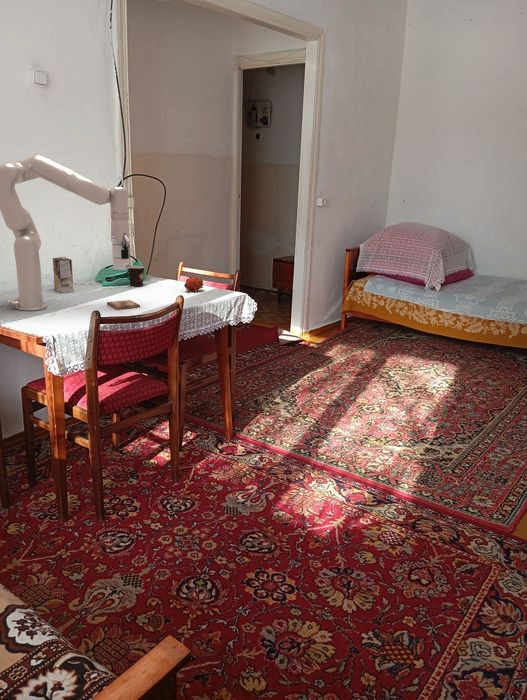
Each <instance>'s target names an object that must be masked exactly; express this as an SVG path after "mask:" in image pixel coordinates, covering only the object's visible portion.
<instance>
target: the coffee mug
mask: <svg viewBox="0 0 527 700" xmlns="http://www.w3.org/2000/svg"><path fill="white" fill-rule="evenodd" d="M130 266H131V267H130V268H128V269H127V271H126V274H125V275H126V278H127V280H128V281H129V286H130V287H132V286H133V288H140V287H143V286H144V275H145V266H143V265H130Z"/></svg>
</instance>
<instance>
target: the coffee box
mask: <svg viewBox="0 0 527 700" xmlns="http://www.w3.org/2000/svg"><path fill="white" fill-rule="evenodd" d="M52 268H53V269H52V270H53V282H54V283H53V284H54V290H55V291H56V292H58V293H61V294H65V293H66V292H67V293H74V280H73V279H74V278H73V276H74V275H73V261H72V259H70V258H68V257H64V256H60V257H53V258H52Z"/></svg>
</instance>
